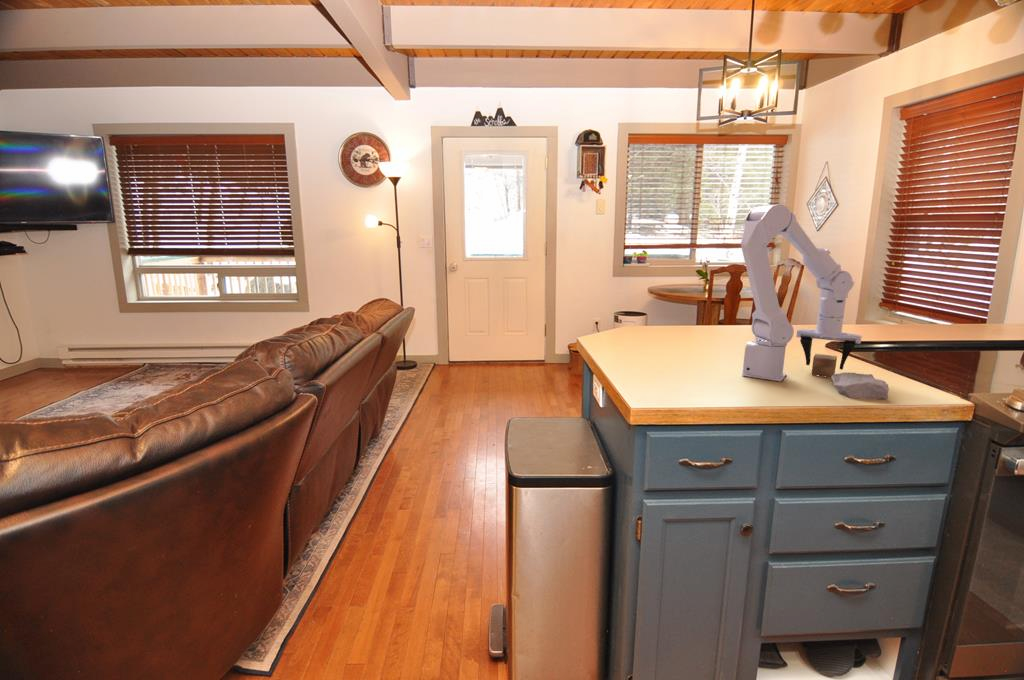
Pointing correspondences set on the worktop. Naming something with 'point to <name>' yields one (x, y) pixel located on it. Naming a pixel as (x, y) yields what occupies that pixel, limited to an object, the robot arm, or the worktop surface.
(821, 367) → the walnut cube
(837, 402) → the worktop surface
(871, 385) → the stone block
